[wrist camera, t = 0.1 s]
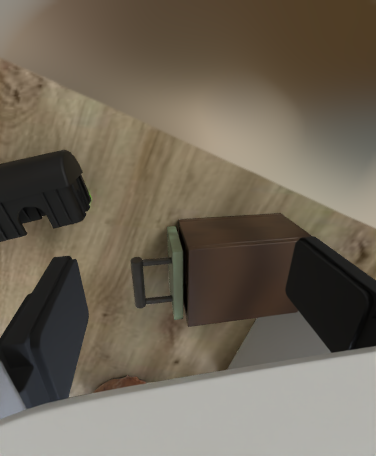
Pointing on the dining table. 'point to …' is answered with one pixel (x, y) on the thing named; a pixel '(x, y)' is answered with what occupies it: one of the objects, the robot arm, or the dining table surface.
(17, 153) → the dining table surface
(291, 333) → the grey blocky shape
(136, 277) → the drawer
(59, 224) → the end cap
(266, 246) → the cabinet
